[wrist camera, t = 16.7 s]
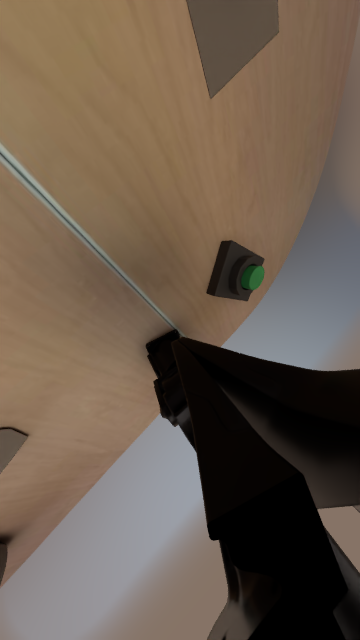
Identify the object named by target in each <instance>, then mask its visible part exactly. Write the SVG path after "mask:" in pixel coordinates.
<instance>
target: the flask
mask: <svg viewBox="0 0 360 640" xmlns="http://www.w3.org/2000/svg"><path fill="white" fill-rule="evenodd" d="M26 439H27V436H25V435H23V434H20V433H18V432H16V431H14V430H12V429H3V430H0V474H1V472H2V471H3V470H4V469H5V467H6V466H7V465H8V463H9V462H10V461H11V460H12V458H13V457H14V456H15V454H16V453H17V451H18V450H19V449H20V447H21V446H22V444H23V443H24V442H25V440H26Z"/></svg>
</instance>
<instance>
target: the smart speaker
mask: <svg viewBox="0 0 360 640" xmlns="http://www.w3.org/2000/svg"><path fill="white" fill-rule="evenodd" d="M6 562H7V546H6V545H5V544H4V543H0V584H1V581H2V578H3V574H4V571H5V567H6Z"/></svg>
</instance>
